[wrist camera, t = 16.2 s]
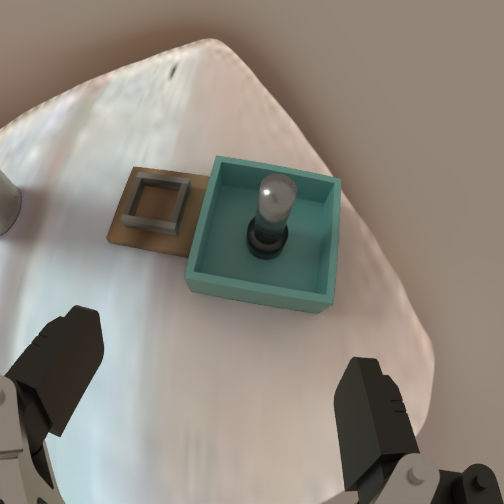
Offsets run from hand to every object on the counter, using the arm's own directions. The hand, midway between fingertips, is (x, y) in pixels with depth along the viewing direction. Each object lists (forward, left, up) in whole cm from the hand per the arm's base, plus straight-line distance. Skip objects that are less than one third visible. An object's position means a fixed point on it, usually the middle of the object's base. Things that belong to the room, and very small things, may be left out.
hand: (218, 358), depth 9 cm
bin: (+2, +15, -26) cm, 30 cm away
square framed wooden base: (-12, +17, -26) cm, 34 cm away
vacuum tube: (+2, +15, -25) cm, 29 cm away
